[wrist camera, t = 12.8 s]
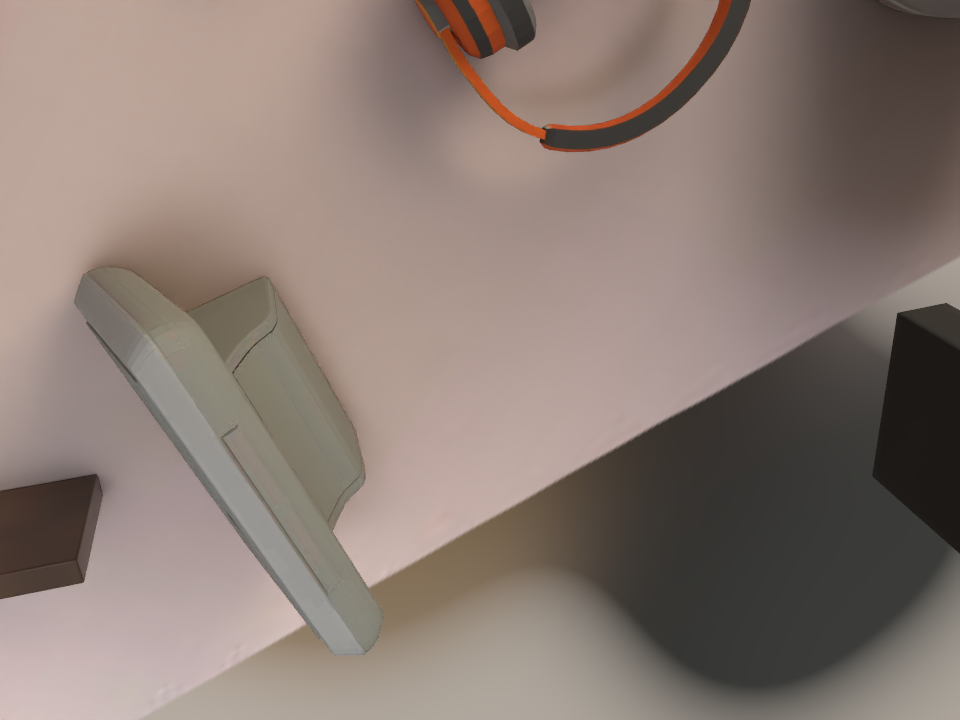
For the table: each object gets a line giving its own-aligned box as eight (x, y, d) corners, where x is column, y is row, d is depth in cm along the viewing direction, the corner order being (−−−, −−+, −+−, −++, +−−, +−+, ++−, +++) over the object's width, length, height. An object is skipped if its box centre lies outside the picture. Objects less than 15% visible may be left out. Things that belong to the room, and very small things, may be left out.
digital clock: (63, 252, 34) (3, 375, 25) (288, 197, 35) (310, 295, 26) (197, 558, 42) (189, 737, 33) (376, 504, 43) (417, 662, 34)
